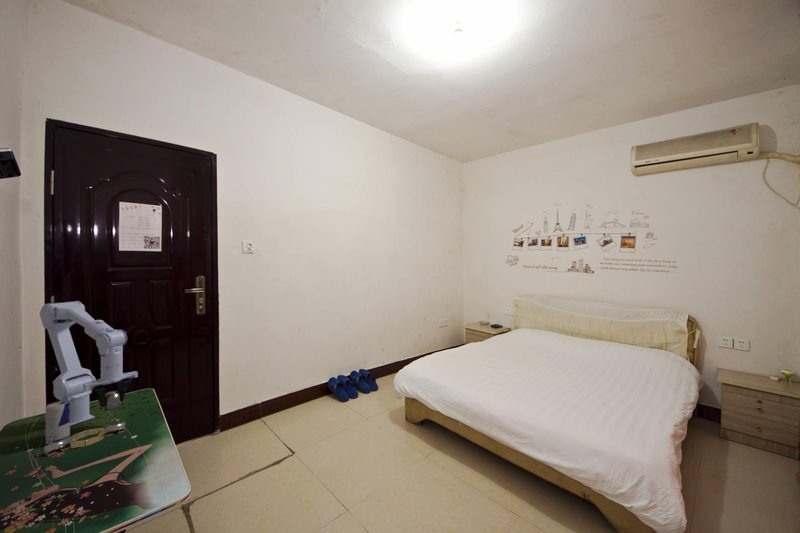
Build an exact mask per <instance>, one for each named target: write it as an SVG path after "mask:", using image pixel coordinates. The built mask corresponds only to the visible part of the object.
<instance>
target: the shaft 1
mask: <svg viewBox="0 0 800 533" xmlns="http://www.w3.org/2000/svg"><path fill="white" fill-rule="evenodd" d="M69 438H70V437H69ZM69 438H67V439H64V440H61V441H58V442H56V443H53V444H50V445H48V444H46V445H45V446H44V447H43V455H44V456H46V457H51V456H53V455H56V454H57V453H58V452H57V451H58V450H59V451H61V452H64V451H67V450H70V449H71V448H70V446H68V445H69V443H70V439H69Z"/></svg>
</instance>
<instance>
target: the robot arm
mask: <svg viewBox="0 0 800 533" xmlns="http://www.w3.org/2000/svg"><path fill="white" fill-rule="evenodd" d="M39 317H40V319H41V324H42V327H43V329H46V330H47V332H48V335H49V339H50V342H51V346H52V348H53V351H54V354H55V358H56V361H57V364H58V367H59V371H60V374H59V375H58V376H57V377H56V378H55V379H54V380H53V381H52V384H53V390H52V391H53V396H54V398H56V399H58V401H69V403H70V427H71V426H75V425H76V424H77V425H78V424H80V423H83V422H86V421H89V420H92V419H95V416H94V415H92V414H90V394H92V392H93V393H94V395H95V396H96V398H97V400H98V404H99V407H101V408H103V407H105V395H106V393H107V387H105V386H106V385H110V384H114V383H117V388H118V389H117V391H120V402H123V401H124V399H125V395H126V393H127V391H128V389H129V387H130V385H131V383H132V379H133V378H134V379H135V378H136V379H137V378H138V377H139V376H138V375H139V374H138V371H136V370H134V371H130V372H123V369H124V368H123V363H124V361H123V360H124V358H123V357H124V356H123V352H124V350H123V349H124V347H123V346H125V344H126V343H127V341H128V336H127V333H126V332H125V330H123V329H114V328H113V327H111V326H110V325H109V324H107V323H106V322H105V321H104V320H102V319H96V320H95V318H93V317H92V316H91V315H90V314H89V313H88V312H87V311H86V307H85V305H84V304H83V303H82V302H81V301H79V300H75V301H66V302H55V303H45V304H43V306H42V307H41V309H40V311H39ZM75 324H79V325H80V326H82V327H83V328H84V333H85V334H87V335H88V336H89V337H91V338H92V339H93V340H95V344H96V347H97V349H98V354H99V355H100V378H98V379H96V377H95V376H94V375H93V374H92V371H91V369H88V368H84V367H82V365H81V361H80V359H79V356H78V353H77V351H76V347H75V345H74V344H75V343H74V341H73V337H72V334H71V331H70V327H71V326H73V325H75Z"/></svg>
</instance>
